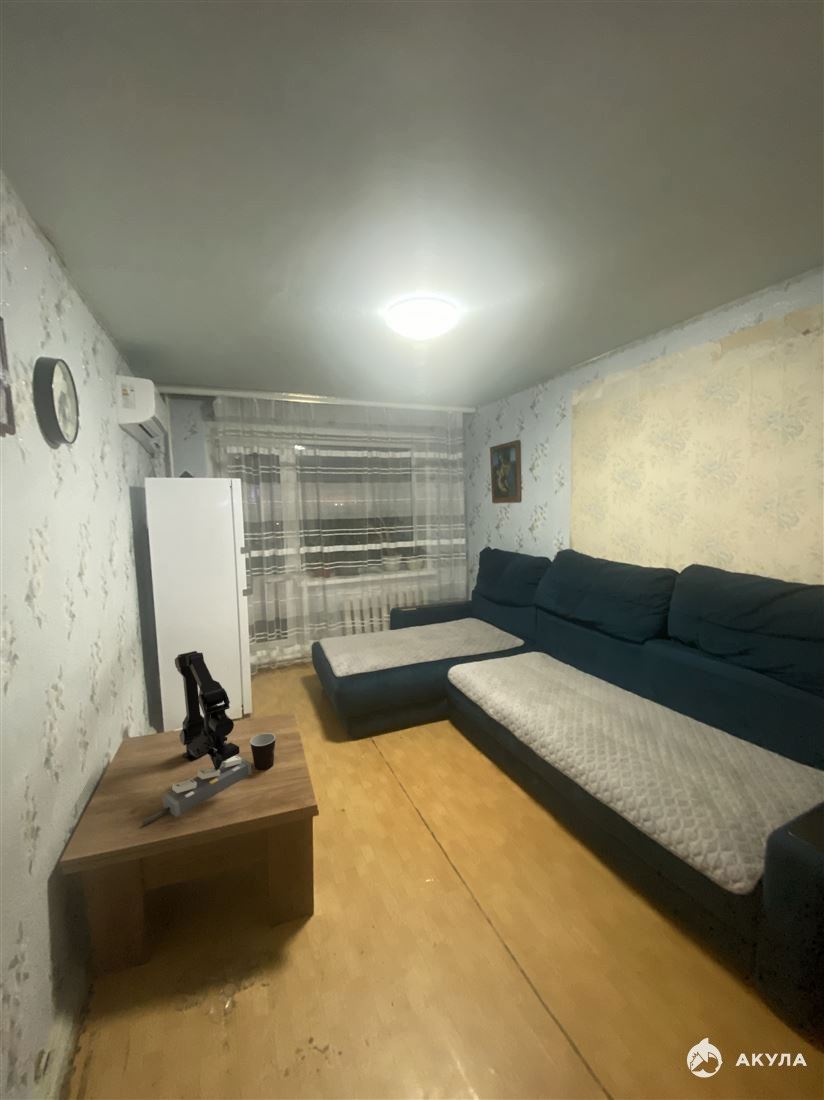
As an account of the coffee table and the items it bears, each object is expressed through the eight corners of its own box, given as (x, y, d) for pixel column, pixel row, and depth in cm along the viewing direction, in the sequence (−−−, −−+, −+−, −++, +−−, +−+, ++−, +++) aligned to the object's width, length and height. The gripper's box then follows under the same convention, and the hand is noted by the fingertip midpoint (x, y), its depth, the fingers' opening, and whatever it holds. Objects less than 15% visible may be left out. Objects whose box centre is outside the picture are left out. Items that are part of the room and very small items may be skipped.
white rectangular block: (172, 789, 138) (173, 783, 138) (190, 784, 143) (191, 779, 143) (177, 793, 136) (178, 787, 136) (195, 787, 141) (196, 782, 141)
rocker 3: (219, 764, 151) (220, 759, 151) (235, 760, 156) (236, 755, 156) (225, 767, 149) (226, 762, 149) (240, 763, 154) (241, 758, 154)
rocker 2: (197, 775, 144) (198, 770, 144) (213, 772, 149) (215, 767, 149) (202, 779, 142) (203, 774, 143) (219, 775, 147) (220, 770, 147)
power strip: (136, 820, 132) (135, 807, 132) (237, 766, 159) (237, 755, 159) (149, 832, 127) (148, 819, 127) (251, 773, 154) (250, 762, 154)
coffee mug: (269, 774, 154) (267, 747, 153) (246, 771, 156) (245, 744, 155) (285, 755, 166) (283, 730, 164) (264, 753, 167) (262, 728, 166)
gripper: (175, 727, 145) (179, 771, 147) (206, 744, 135) (209, 792, 136) (207, 713, 154) (210, 755, 156) (238, 728, 144) (242, 773, 145)
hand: (217, 768), depth 148 cm, fingers closed, pressing on rocker 2
